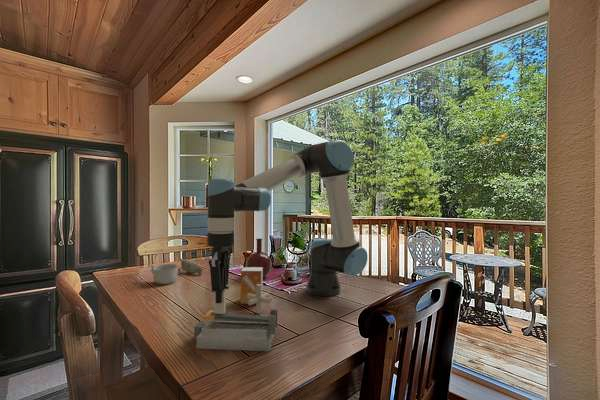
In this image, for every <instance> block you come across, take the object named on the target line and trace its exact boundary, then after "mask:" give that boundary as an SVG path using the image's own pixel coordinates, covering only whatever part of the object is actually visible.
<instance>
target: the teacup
mask: <svg viewBox="0 0 600 400" xmlns="http://www.w3.org/2000/svg"><path fill="white" fill-rule="evenodd" d="M178 268H179V266H178V264H174V263H165V264H160V265H153V266H151V268H150V271H151V273H152V274H153V280H154V282H155V283H156V284H157V285H161V286H163V285H170V284H172V283H174V282H175V281H176V280H177V278H178Z"/></svg>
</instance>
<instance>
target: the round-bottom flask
mask: <svg viewBox="0 0 600 400" xmlns="http://www.w3.org/2000/svg"><path fill="white" fill-rule="evenodd" d="M255 240H256V251H255V252H253V253H251V254H250V255H249V256H248V257H247V260H246V263H245V267H263V278H264V277H266V276H267V275H268V274H269V273H270V272H271V270H272V268H273V267H272V265H273V262H272V259H271V258H270V256H269V255H268V254H267V253H265V252H264V251H262V249H263V247H262V246H263V245H262V243H263V238H256V239H255Z"/></svg>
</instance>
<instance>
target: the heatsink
mask: <svg viewBox="0 0 600 400" xmlns="http://www.w3.org/2000/svg"><path fill="white" fill-rule="evenodd" d="M269 311H270V314H268V315H267V316H268V322H255V321H242V320H229V319H217V318H215V319H214V320H207V323H206V321H205V320H204V321H203V320H199V322H198V323H196V325H195V326H194V329H193V333H194V336H193V338H194V340H193V341H194V342H196V345H195V346H196V347H195V348H196V349H202V350H203V349H204V350H231V351H252V352H253V351H255V352H256V351H257V352H270V350H271V347H272V344H273V341H274V337H275V335H276V328H278V319H279V318H278V315H279V313H278V309H277V308H271V309H270V310H269ZM258 315H259V314H258ZM259 316H263V315H259Z"/></svg>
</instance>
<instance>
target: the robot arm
mask: <svg viewBox="0 0 600 400" xmlns="http://www.w3.org/2000/svg"><path fill="white" fill-rule="evenodd" d="M354 162H355V155H354V152H353V150H352V147H351V145H350V144H348V142H346V141H344V140H341V139H336V140H334V139H333V140H329V141H325V142H320V143H316V144H314V143H313V144H312V145H309V146H307V147H305V148H303V149H301V150H299V151H298V152H295V153H294V154H292V155H291V156H289V158H288V159H287V160H286V161H283V162H281V163H279V164H277V165H274V166H273V167H271V168H268V169H266V170H265V171H263V172H261V173H258V174H256V175H255V176H252V177H250V178H248V179H245V180H244V181H241V182H240V183H238V184H236V183H235V180H233V179H230V178H212V179H210V180H209V181H208V186H207V220H206V222H205V223H206V224H207V231H208V233H207V237H206V238H207V239H206V241H207V243H206V244H207V246H208V247H210V248H212V253H211V259H209V260H208V265H209V266H208V267H209V269H210V270H209V272H210V283H211V284H210V285H211V292H214V310H215V314H224V313H226V301H227V299H226V294H227V293H226V292H227V290H229V288H230V286H229V278H230V277H229V276H230V275H229V274H230V266H231V265H230V264H231V263H230V261H231V257H232V252H230V251H229V247H232V246H234V244H235V233H234V232H233V231H235V212H260V211H261V212H263V211H267V210H268V209H269V208H270V205H271V198H272V197H271V193H270V192H271V191H272V190H275V189H276V188H278V187H280V186H282V185H284V184H285V183H287V182H289V181H292V180H293V179H295V178H296V177H298V178H303V177H304V176H307V175H310V174H314V173H315V174H317V173H318V174H319V177H320V179H321V180H322V181H324V185H325V193H326V199H327V203H328V204H327V205H328V211H329V219H330V223H331V230H332V236H333V238H325V239H324V238H322V239H315V240H313V241H311V244H310V245H311V246H310V274H309V277H308V281H307V284H306V292H307V293H308V294H310V295H314V296H321V297H322V296H323V297H325V296H326V297H328V296H329V297H331V296H332V297H333V296H335V295H338V294H340V293H341V290H342V289H341V283H340V281H339V280H340V279H339V276H338V273H342V274H345V275H346V276H347V275H348V276H358V275H360V274H361V273H362V272H364V270H365V268H366V266H367V263H368V251H367V249H365V248H364V247H363V246H361V245H360V239H359V238H358V237H356V236H355V230H354V223H353V222H354V221H353V214H352V208H351V202H350V194H349V188H348V181H347V177H348V176H349V175H350V169H351V168H352V166H353V165H354ZM235 184H236V185H235Z"/></svg>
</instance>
